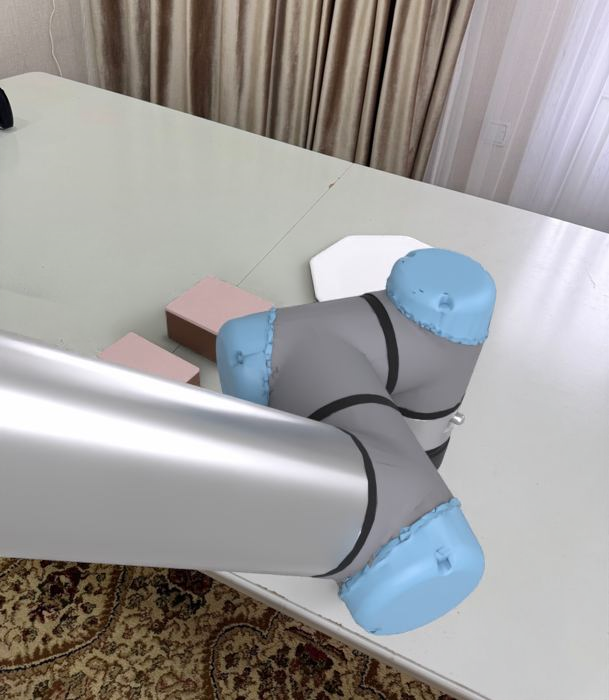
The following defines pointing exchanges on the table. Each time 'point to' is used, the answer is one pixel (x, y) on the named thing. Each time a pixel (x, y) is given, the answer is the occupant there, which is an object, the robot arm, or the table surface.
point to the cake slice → (150, 359)
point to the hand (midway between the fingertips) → (370, 560)
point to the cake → (208, 313)
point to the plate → (358, 264)
